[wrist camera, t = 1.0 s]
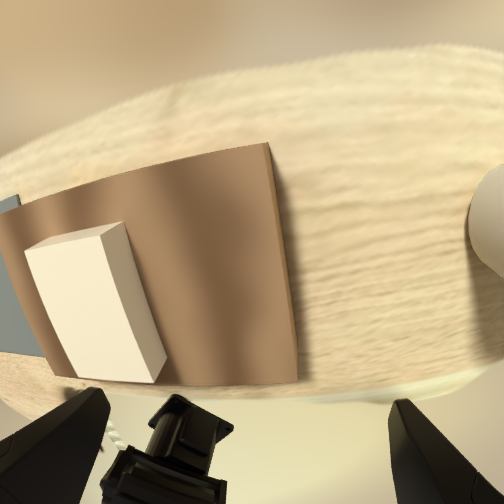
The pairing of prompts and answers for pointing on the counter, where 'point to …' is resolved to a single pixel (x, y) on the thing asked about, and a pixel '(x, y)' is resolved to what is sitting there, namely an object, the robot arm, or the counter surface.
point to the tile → (98, 304)
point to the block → (182, 264)
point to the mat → (13, 308)
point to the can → (489, 220)
